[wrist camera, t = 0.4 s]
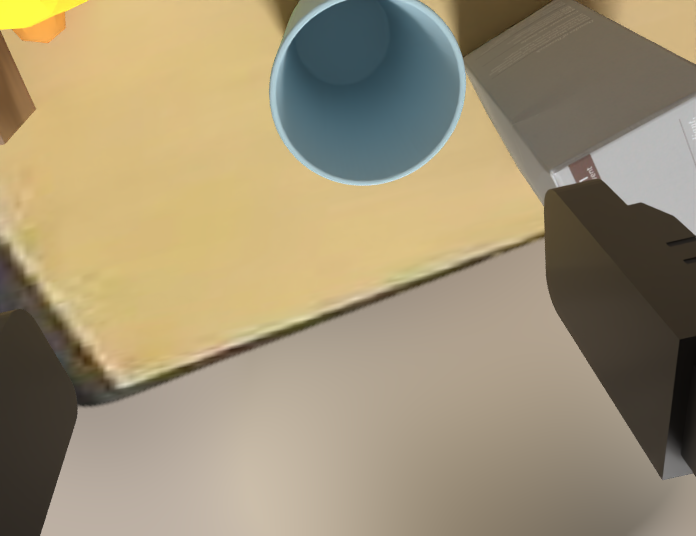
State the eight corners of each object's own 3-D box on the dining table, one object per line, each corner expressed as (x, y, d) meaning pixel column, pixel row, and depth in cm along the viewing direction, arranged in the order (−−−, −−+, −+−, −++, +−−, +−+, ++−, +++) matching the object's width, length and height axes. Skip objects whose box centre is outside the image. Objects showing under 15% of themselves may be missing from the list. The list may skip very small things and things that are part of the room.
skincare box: (614, 113, 38) (803, 251, 25) (504, 177, 40) (628, 340, 26) (562, -18, 34) (757, 63, 21) (441, 59, 35) (551, 182, 22)
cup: (385, 123, 37) (423, 205, 28) (251, 84, 35) (247, 160, 26) (435, -16, 33) (498, 29, 24) (290, -68, 31) (300, -39, 23)
